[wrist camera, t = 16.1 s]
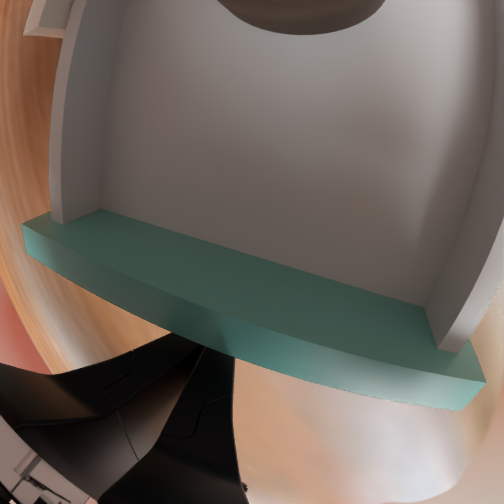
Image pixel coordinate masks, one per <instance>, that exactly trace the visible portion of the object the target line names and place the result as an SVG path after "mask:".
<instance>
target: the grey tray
mask: <svg viewBox="0 0 504 504" xmlns="http://www.w3.org/2000/svg"><path fill="white" fill-rule="evenodd" d="M49 190H50V207H51V211H50V212H48V213H45V214H43V215H41V216H38V217H36V218H34V219H31V220H29V221H27V222H25V223H22V224H21V225H22V231H23V238H24V244H25V249H26V253H27V254H28V255H30V256H31V257H33V258H34V259H36V260H37V261H39V262H40V263H42V264H44V265H45V266H47V267H48V268H50V269H52V270H53V271H55V272H57V273H58V274H60V275H62V276H63V277H65V278H67V279H68V280H70V281H72V282H73V283H75V284H77V285H79V286H81V287H82V288H84V289H86V290H88V291H89V292H91V293H93V294H95V295H97V296H99V297H101V298H102V299H104V300H106V301H108V302H110V303H112V304H114V305H116V306H118V307H120V308H122V309H124V310H126V311H128V312H130V313H132V314H134V315H136V316H138V317H140V318H142V319H144V320H146V321H149V322H151V323H153V324H155V325H157V326H159V327H162V328H164V329H166V330H168V331H171V332H173V333H175V334H178V335H180V336H182V337H185V338H187V339H189V340H192V341H194V342H197V343H199V344H201V345H204V346H206V347H209V348H212V349H214V350H217V351H219V352H222V353H225V354H227V355H230V356H233V357H235V358H238V359H241V360H244V361H247V362H249V363H252V364H255V365H258V366H261V367H264V368H267V369H270V370H273V371H276V372H279V373H283V374H286V375H289V376H292V377H296V378H299V379H303V380H306V381H310V382H313V383H317V384H320V385H324V386H328V387H332V388H336V389H340V390H344V391H348V392H352V393H356V394H361V395H365V396H370V397H375V398H379V399H385V400H390V401H395V402H401V403H406V404H412V405H419V406H425V407H433V408H440V409H449V410H458V411H461V410H462V409H463V408H464V407H465V406H466V405H467V404H468V403H469V402H470V401H471V400H472V399H473V397H474V396H475V395H476V394H477V393H478V392H479V391H480V390H481V389H482V387H483V386H484V385H485V384H486V380H485V377H484V374H483V372H482V369H481V366H480V364H479V361H478V358H477V356H476V353H475V351H474V349H473V346H472V344H471V341H470V339H469V338H470V336H471V335H472V333H473V332H474V330H475V328H476V327H477V325H478V324H479V322H480V320H481V319H482V317H483V315H484V314H485V312H486V310H487V309H488V307H489V305H490V303H491V301H492V300H493V298H494V296H495V294H496V292H497V290H498V288H499V286H500V284H501V282H502V280H503V278H504V0H385V2H384V3H383V5H382V6H381V7H380V8H379V9H378V10H377V11H376V13H374V14H373V15H372V16H370V17H369V18H368V19H366V20H364V21H363V22H361V23H359V24H357V25H354V26H352V27H350V28H347V29H343V30H340V31H337V32H331V33H326V34H318V35H288V34H281V33H275V32H271V31H267V30H263V29H260V28H257V27H254V26H252V25H250V24H248V23H246V22H244V21H242V20H240V19H239V18H237V17H236V16H234V15H233V14H232V13H231V12H230V11H229V10H228V9H226V8H225V7H224V6H223V5H222V4H221V3H219V2H218V1H217V0H74V3H73V6H72V9H71V13H70V16H69V19H68V23H67V27H66V30H65V34H64V38H63V42H62V47H61V51H60V56H59V61H58V66H57V72H56V78H55V85H54V92H53V100H52V109H51V121H50V137H49Z"/></svg>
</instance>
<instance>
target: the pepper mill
mask: <svg viewBox="0 0 504 504" xmlns="http://www.w3.org/2000/svg"><path fill="white" fill-rule="evenodd" d="M217 1H218V2H219V3H221V4H222V5H223V6H224V7H225V8H226V9H228V10H229V11H230V12H231V13H232V14H233V15H234V16H236V17H237V18H239V19H240V20H242V21H244V22H246V23H248V24H250V25H252V26H254V27H257V28H260V29H263V30H267V31H271V32H275V33H281V34H288V35H318V34H326V33H331V32H337V31H340V30H343V29H347V28H350V27H352V26H354V25H357V24H359V23H361V22H363V21H364V20H366V19H368V18H369V17H370V16H372V15H373V14H374V13H376V11H377V10H378V9H379V8H380V7H381V6H382V5H383V3H384V2H385V0H217Z"/></svg>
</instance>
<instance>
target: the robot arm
mask: <svg viewBox="0 0 504 504" xmlns="http://www.w3.org/2000/svg"><path fill="white" fill-rule="evenodd" d="M234 373H235V357H233V356H230V355H227V354H225V353H222V352H219V351H217V350H214V349H212V348H209V347H206V346H204V345H201V344H199V343H197V342H194V341H192V340H189V339H187V338H185V337H182V336H180V335H178V334H175V333H173V332H171V333H169V334H167V335H165V336H163V337H160V338H158V339H156V340H154V341H152V342H149V343H147V344H145V345H143V346H140V347H138V348H136V349H133V351H129V352H126V353H124V354H122V355H119V356H117V357H114V358H112V359H109V360H106V361H103V362H100V363H97V364H94V365H90V366H87V367H83V368H80V369H76V370H72V371H69V372H65V373H61V374H54V375H47V374H40V373H36V372H32V371H28V370H24V369H20V368H16V367H13V366H10V365H6V364H2V363H0V504H10V503H9V502H10V500H11V499H12V500H13V501H14V502H15V503H16V504H85V503H86V502H87V500H88V499H89V498H90V497H92V498H93V499H95V500H96V501H97V503H98V504H249V502H248V499H247V497H246V494H245V492H247V490H248V488H246V487H244V486H242V482H241V478H240V473H239V467H238V460H237V453H236V446H235V438H234V429H233V391H234Z"/></svg>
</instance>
